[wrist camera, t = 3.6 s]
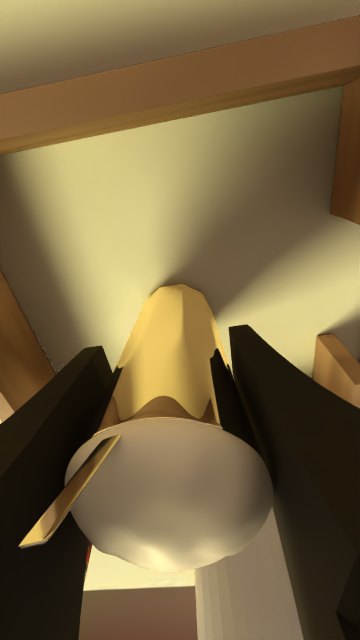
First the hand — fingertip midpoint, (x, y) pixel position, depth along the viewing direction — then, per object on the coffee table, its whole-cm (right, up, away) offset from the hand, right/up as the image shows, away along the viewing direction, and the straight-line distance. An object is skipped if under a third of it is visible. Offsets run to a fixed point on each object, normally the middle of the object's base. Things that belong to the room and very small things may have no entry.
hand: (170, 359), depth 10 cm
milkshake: (0, +2, +3) cm, 4 cm away
